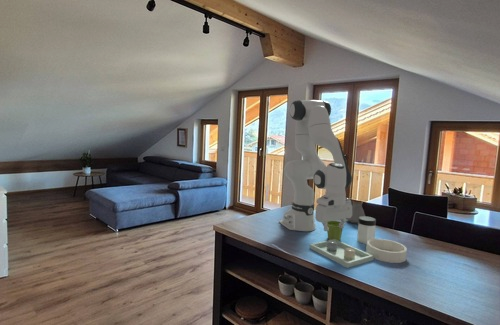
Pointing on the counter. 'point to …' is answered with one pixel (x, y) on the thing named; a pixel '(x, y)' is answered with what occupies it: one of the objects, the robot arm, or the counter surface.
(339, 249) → the parts tray
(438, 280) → the counter surface
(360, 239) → the jar
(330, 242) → the grey ball
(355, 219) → the coffee pot
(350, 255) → the stone sand
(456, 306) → the counter surface
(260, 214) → the counter surface
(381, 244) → the bowl
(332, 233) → the plant pot
